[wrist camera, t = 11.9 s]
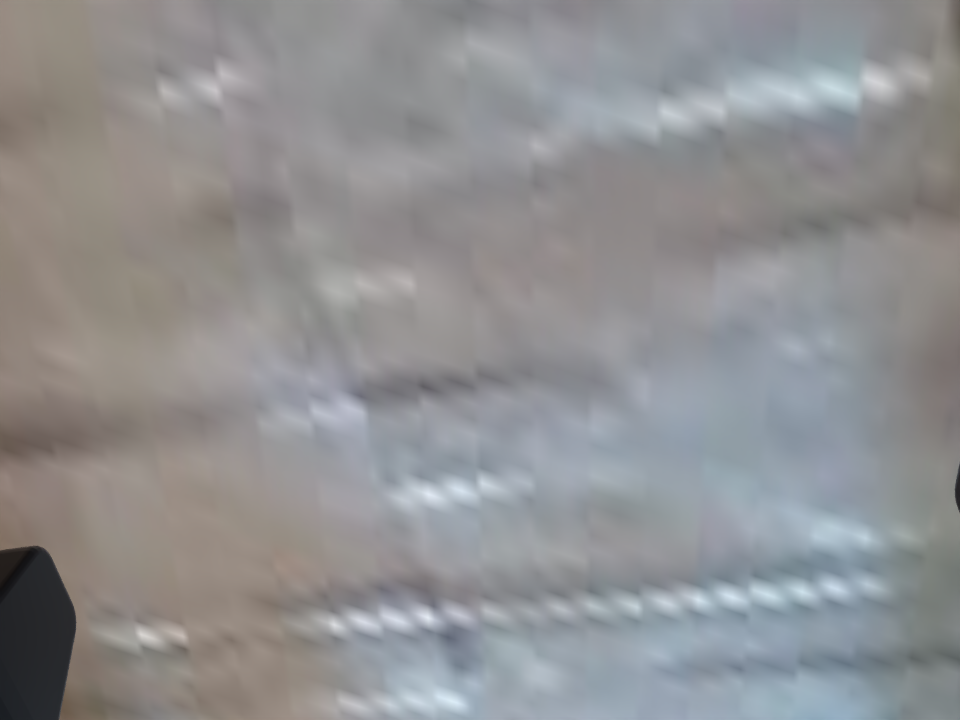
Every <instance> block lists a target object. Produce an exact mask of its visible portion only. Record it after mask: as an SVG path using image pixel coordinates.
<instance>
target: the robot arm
mask: <svg viewBox="0 0 960 720" xmlns="http://www.w3.org/2000/svg"><path fill="white" fill-rule="evenodd" d="M955 498H956V503H957V507H958V510H959V512H960V464H959V469H958V474H957V479H956V484H955ZM75 632H76V615H75V610H74V607H73V604H72V601H71V599H70V597H69V595H68V593H67V590H66V588H65V586H64V584H63V582H62V579H61V577H60V575H59V573H58V571H57V568H56V566H55V564H54V562H53V560H52V558H51V556H50V554H49V553H48V552H47V551H46V550H45V549H44V548H42V547H39V546H28V547H21V548H13V549H6V550H1V551H0V720H59V717H60V712H61V707H62V701H63V696H64V691H65V685H66V680H67V675H68V670H69V664H70V659H71V654H72V648H73V643H74V638H75Z"/></svg>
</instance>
